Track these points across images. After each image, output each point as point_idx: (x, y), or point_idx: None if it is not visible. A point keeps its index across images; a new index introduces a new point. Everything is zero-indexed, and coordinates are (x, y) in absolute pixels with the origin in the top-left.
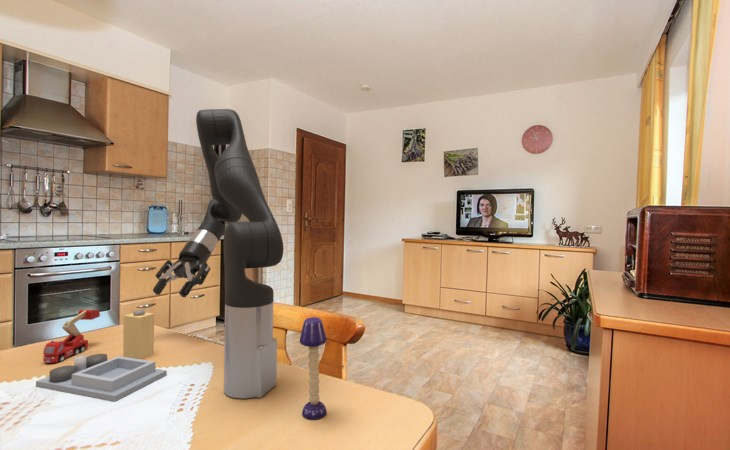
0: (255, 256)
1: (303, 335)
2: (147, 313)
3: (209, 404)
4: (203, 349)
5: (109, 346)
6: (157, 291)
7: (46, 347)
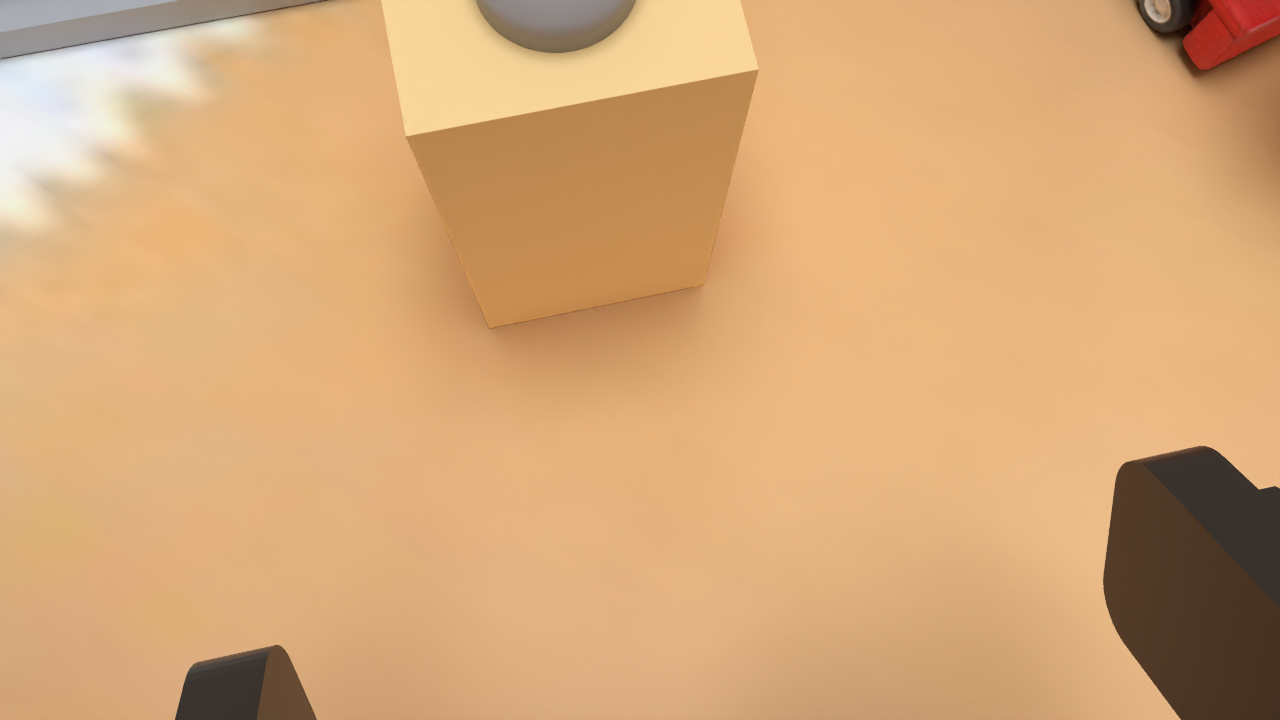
0: None
1: None
2: (509, 84)
3: None
4: (101, 705)
5: (1110, 224)
6: (1138, 550)
7: None
